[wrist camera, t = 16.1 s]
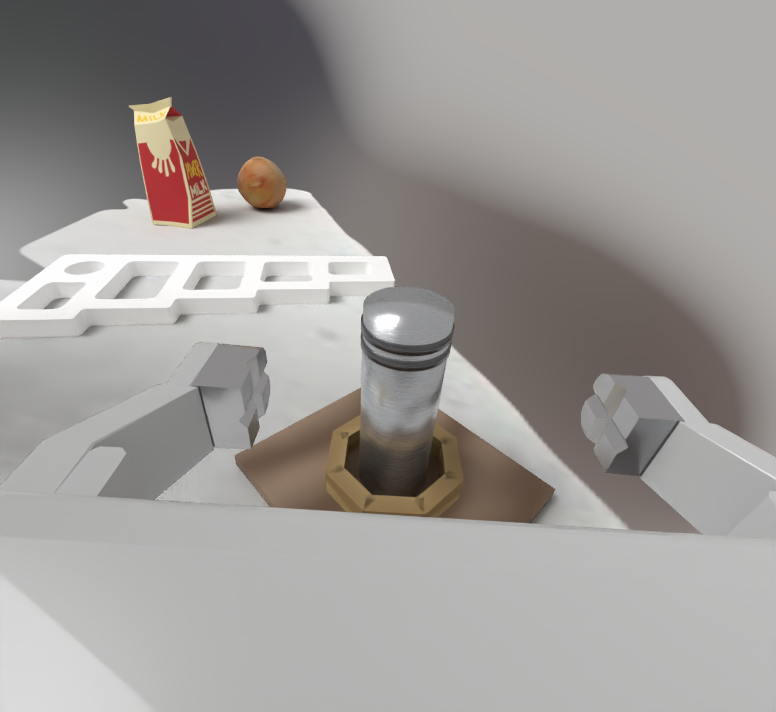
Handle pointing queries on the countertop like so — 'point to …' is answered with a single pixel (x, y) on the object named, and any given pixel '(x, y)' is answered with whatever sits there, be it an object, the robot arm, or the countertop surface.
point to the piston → (401, 385)
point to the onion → (262, 183)
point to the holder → (177, 289)
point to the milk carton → (171, 167)
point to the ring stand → (346, 494)
